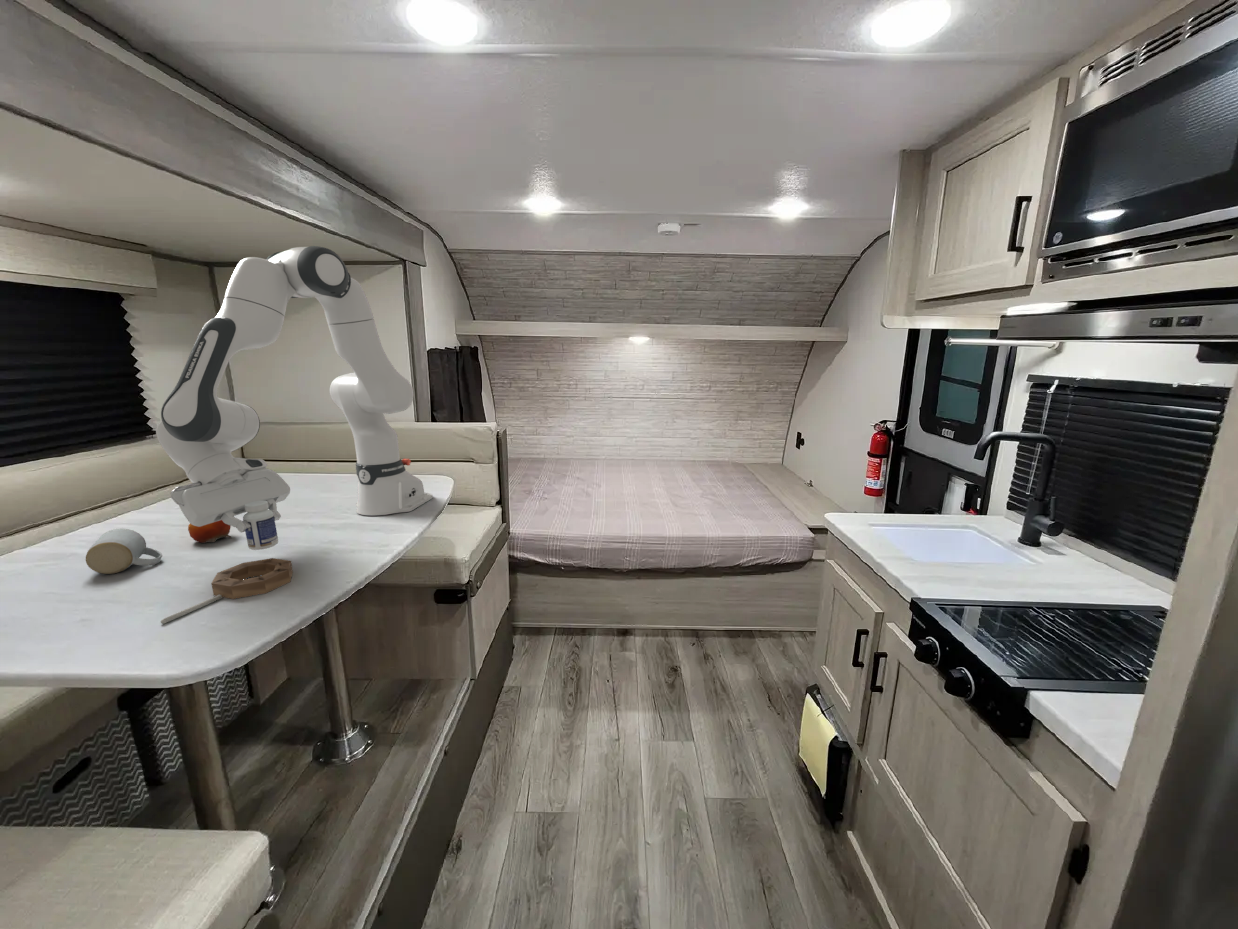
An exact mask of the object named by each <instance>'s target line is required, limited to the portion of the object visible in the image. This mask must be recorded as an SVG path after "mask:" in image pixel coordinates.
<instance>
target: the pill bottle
mask: <svg viewBox="0 0 1238 929" xmlns="http://www.w3.org/2000/svg"><path fill="white" fill-rule="evenodd" d="M245 510H246V512H245V513H244V515H243V516H242V521H244V520H247V522H248V523H249V524H250V525H251V527H250V528H249V530H247V531H245V537H246V542H247V547H248V548H249V550H253V551H257V550H258V551H259V550H266V549H270V548H272V547H274V546H276V545H277V544H278V543H279V537H278V531H277V527H276V526H277V525H276V521H275V519H274V514H273V512H272V511H271V510H269V509H268V502H267V501H254V502H250V503H247V504H245Z"/></svg>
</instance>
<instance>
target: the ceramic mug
mask: <svg viewBox="0 0 1238 929" xmlns="http://www.w3.org/2000/svg"><path fill="white" fill-rule="evenodd" d="M143 555H146V556H150V557H153V558H143V557H142V556H143ZM141 557H142V558H141ZM162 557H163V553H162V552H161V551H159V550H157V549H154V548H151V547H148V546H147V542H146V539H145V538H144V536H143V535H142V534H141V533H140V532H137V531H135V530H134V529H130V528H113V529H111V530H108V531H106V532H104V533H103V534H102V535H101V536H100V537H98V539H97V540H96V541H95V542H94V543H93V544H92V545H91V546H90V547H89V549H87V552H86V554H85V563H86V565H87V567H88V568H89V569H90V570H92V571H94V572H95V573H99V574H101V575H102V574H104V575H108V574H109V575H110V574H111V575H112V574H113V575H114V574H117V573H121V572H123V571H125V570H127V569H128V568H130V567H131V566H132V565H136V566H147V567H148V566H154V565H157V564H159V563H160V562H161V560H162Z"/></svg>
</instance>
